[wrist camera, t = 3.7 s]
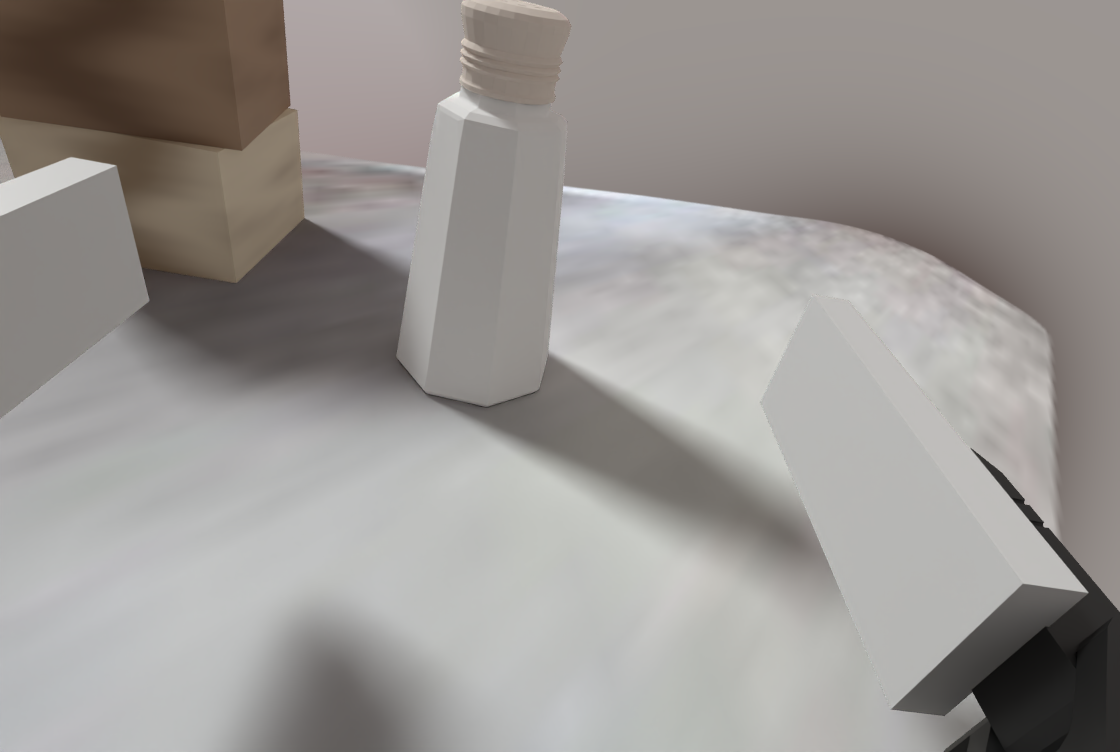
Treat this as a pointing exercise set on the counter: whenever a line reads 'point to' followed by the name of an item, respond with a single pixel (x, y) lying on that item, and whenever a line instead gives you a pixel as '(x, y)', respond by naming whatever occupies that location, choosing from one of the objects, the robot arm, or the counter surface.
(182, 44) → the tower top
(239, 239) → the tower bottom
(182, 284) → the counter surface
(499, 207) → the salt shaker
